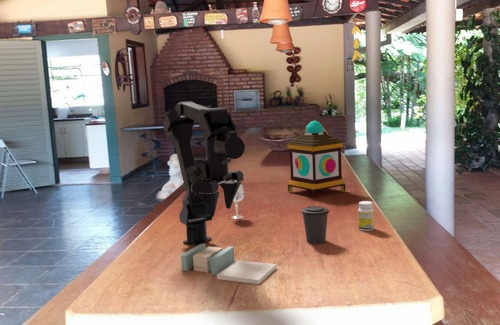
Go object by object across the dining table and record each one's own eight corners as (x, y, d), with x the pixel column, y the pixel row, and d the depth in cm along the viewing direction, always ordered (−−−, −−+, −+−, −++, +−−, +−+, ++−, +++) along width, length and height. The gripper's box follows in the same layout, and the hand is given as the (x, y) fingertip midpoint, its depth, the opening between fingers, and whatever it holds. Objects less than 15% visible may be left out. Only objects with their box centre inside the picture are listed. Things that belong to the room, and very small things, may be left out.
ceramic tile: (237, 264, 136) (237, 260, 136) (276, 268, 131) (276, 264, 131) (216, 278, 126) (216, 274, 126) (258, 284, 121) (258, 280, 121)
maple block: (209, 261, 140) (208, 246, 139) (222, 262, 138) (222, 248, 137) (194, 271, 133) (193, 255, 132) (207, 272, 131) (206, 257, 130)
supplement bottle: (364, 226, 165) (363, 200, 164) (377, 228, 162) (376, 201, 160) (355, 229, 162) (354, 203, 160) (368, 232, 158) (368, 205, 157)
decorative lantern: (350, 191, 217) (349, 119, 213) (314, 199, 206) (311, 123, 202) (318, 185, 234) (316, 118, 229) (283, 192, 223) (280, 121, 218)
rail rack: (201, 258, 142) (200, 243, 141) (234, 261, 138) (233, 246, 137) (181, 270, 133) (180, 255, 132) (216, 274, 129) (215, 259, 128)
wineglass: (225, 218, 184) (223, 184, 182) (237, 214, 188) (235, 181, 186) (237, 220, 180) (235, 186, 178) (248, 216, 184) (247, 183, 182)
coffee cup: (301, 237, 156) (300, 204, 155) (328, 236, 156) (327, 203, 154) (303, 245, 148) (301, 211, 147) (331, 244, 148) (330, 210, 146)
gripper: (208, 150, 151) (211, 203, 153) (171, 160, 135) (176, 219, 137) (242, 150, 146) (245, 205, 149) (209, 161, 130) (213, 222, 132)
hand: (220, 212), depth 142 cm, fingers open, 9 cm apart
